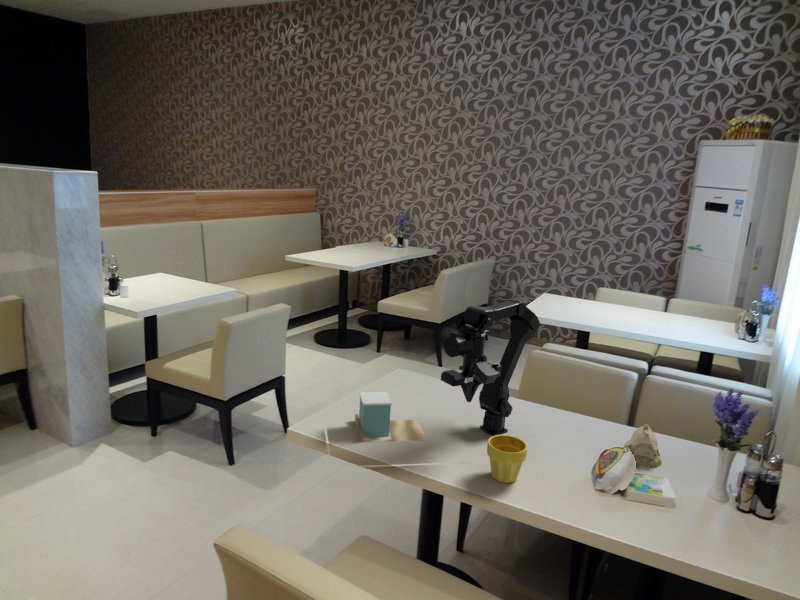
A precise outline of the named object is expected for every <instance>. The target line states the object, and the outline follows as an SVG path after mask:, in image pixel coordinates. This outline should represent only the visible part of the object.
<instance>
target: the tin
mask: <svg viewBox="0 0 800 600" xmlns="http://www.w3.org/2000/svg"><path fill="white" fill-rule="evenodd" d="M359 396H360V397H359V409H358V410H359V412H358V416H359V420H360V423H361V427H362V431H363V437H385V436H389V424H390V420H391V408H392V407H391V406H392V405H393V404H392V401H391V397H390V396H389V393H388V392H387V391H385V392H384V391H377V392H376V391H373V392H371V391H370V392H367V391H366V392H365V391H364V392H363V391H362V392H359Z"/></svg>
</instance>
